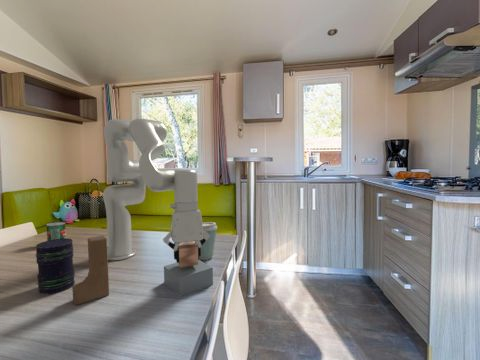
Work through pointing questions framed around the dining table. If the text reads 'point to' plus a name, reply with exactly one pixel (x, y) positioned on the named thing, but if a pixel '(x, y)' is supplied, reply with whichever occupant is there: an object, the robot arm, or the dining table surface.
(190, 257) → the terracotta cube
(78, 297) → the wooden block
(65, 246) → the storage jar
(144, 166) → the robot arm
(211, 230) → the disposable coffee cup
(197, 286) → the slate box
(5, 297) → the dining table surface
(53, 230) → the canned tomato
